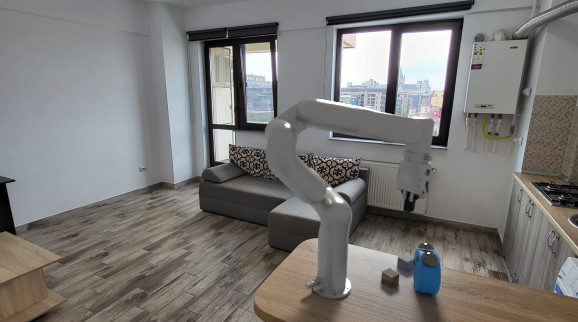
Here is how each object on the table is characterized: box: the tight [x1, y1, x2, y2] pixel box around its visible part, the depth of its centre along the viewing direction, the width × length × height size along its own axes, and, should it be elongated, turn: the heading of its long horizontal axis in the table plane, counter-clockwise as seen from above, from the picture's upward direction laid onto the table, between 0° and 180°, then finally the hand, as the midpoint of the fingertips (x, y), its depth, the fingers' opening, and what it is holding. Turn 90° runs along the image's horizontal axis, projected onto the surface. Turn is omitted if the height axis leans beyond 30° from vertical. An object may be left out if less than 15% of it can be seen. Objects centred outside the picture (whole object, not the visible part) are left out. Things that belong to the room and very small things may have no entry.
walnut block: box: [380, 267, 401, 289], centre depth 98 cm, size 4×4×4 cm
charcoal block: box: [396, 253, 414, 273], centre depth 107 cm, size 4×4×4 cm
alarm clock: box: [412, 241, 442, 298], centre depth 94 cm, size 13×6×15 cm, turn 165°
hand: (408, 211), depth 96 cm, fingers closed
